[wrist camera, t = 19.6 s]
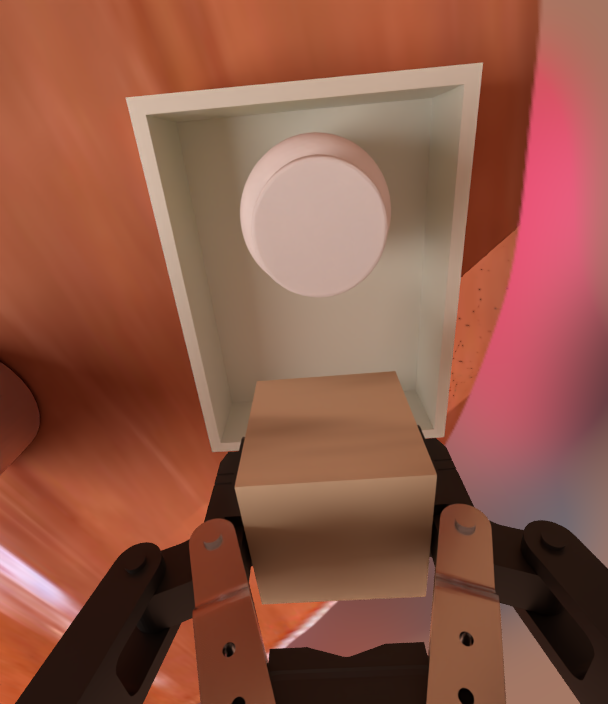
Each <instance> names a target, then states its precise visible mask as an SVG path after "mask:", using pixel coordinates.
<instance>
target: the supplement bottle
mask: <svg viewBox="0 0 608 704" xmlns="http://www.w3.org/2000/svg"><path fill="white" fill-rule="evenodd" d="M390 220H391V202H390V195H389V191H388V187H387V184H386V181H385V179H384V176H383V174H382V172H381V171H380V169H379V167H378V166H377V164H376V163H375V161H374V160H373V159H372V158H371V157H370V156H369V155H368V153H367V152H366V151H364V150H363V149H362V148H361V147H359V146H358V145H357V144H355V143H353V142H352V141H350V140H348V139H346V138H343V137H341V136H338V135H334V134H329V133H321V132H311V133H303V134H299V135H295V136H292V137H290V138H287V139H285V140H283V141H281V142H280V143H278V144H276V145H275V146H274V147H272V148H271V149H270V150H269V151H268V152H267V153H266V154H264V156H263V157H262V158H261V159H260V160H259V161H258V162H257V163H256V165H255V166H254V168H253V170H252V171H251V173H250V175H249V177H248V179H247V181H246V184H245V187H244V190H243V193H242V199H241V207H240V221H241V228H242V233H243V236H244V240H245V242H246V245H247V247H248V250H249V252H250V253H251V255H252V257H253V258H254V260H255V261H256V262H257V264H258V265H259V266H260V267H261V268H262V269H263V270H264V271H265V272H266V273H267V274H268V275H269V276H270V277H271V278H272V279H273V280H274V281H276V282H277V283H278V284H280V285H281V286H282V287H284V288H286V289H287V290H289V291H291V292H294V293H296V294H299V295H303V296H309V297H329V296H334V295H338V294H341V293H343V292H346V291H348V290H350V289H352V288H353V287H355V286H356V285H358V284H359V283H360V282H362V281H363V280H364V279H365V278H366V277H367V276H368V275H369V274H370V273H371V272H372V270H373V269H374V268H375V266H376V264H377V263H378V261H379V260H380V258H381V255H382V253H383V250H384V248H385V244H386V240H387V235H388V232H389V227H390Z"/></svg>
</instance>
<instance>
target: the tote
mask: <svg viewBox="0 0 608 704" xmlns="http://www.w3.org/2000/svg"><path fill="white" fill-rule="evenodd" d="M482 68H483V63H473V64H463V65H453V66H443V67H433V68H422V69H412V70H402V71H392V72H382V73H371V74H361V75H351V76H341V77H331V78H321V79H310V80H300V81H290V82H280V83H270V84H259V85H249V86H239V87H229V88H219V89H208V90H198V91H188V92H178V93H168V94H158V95H147V96H137V97H127V98H126V101H127V105H128V109H129V113H130V117H131V121H132V126H133V130H134V134H135V138H136V142H137V146H138V150H139V154H140V158H141V162H142V167H143V171H144V175H145V179H146V183H147V187H148V191H149V195H150V199H151V203H152V208H153V212H154V216H155V220H156V224H157V228H158V232H159V236H160V240H161V244H162V249H163V253H164V257H165V261H166V265H167V269H168V273H169V277H170V281H171V285H172V289H173V294H174V298H175V302H176V306H177V310H178V314H179V318H180V322H181V326H182V330H183V335H184V339H185V343H186V347H187V351H188V355H189V359H190V363H191V367H192V371H193V376H194V380H195V384H196V388H197V392H198V396H199V400H200V404H201V408H202V412H203V417H204V421H205V425H206V429H207V433H208V437H209V441H210V445H211V449H212V452H223V451H238V450H239V448H240V444H241V439H242V437H245V435H246V430H247V426H248V421H249V416H250V412H251V407H252V402H253V397H254V393H255V388H256V383H257V381H267V380H280V379H294V378H308V377H321V376H335V375H348V374H362V373H376V372H389V371H396V374H397V376H398V379H399V381H400V384H401V386H402V389H403V391H404V394H405V396H406V399H407V401H408V404H409V406H410V409H411V411H412V414H413V416H414V419H415V421H416V424H417V425H419V426H420V427H421V430H422V432H423V435H424V437H425V438H438V437H444V434H445V424H446V415H447V405H448V395H449V386H450V376H451V366H452V357H453V347H454V338H455V328H456V318H457V309H458V299H459V289H460V280H461V270H462V260H463V251H464V241H465V232H466V222H467V212H468V203H469V193H470V183H471V174H472V164H473V154H474V145H475V135H476V126H477V116H478V106H479V97H480V87H481V77H482ZM311 132H321V133H329V134H334V135H338V136H341V137H343V138H346V139H348V140H350V141H352V142H353V143H355V144H357V145H358V146H359V147H361V148H362V149H363V150H364V151H366V152H367V153H368V155H369V156H370V157H371V158H372V159H373V160H374V161H375V163H376V164H377V166H378V167H379V169H380V171H381V172H382V174H383V176H384V179H385V181H386V184H387V187H388V191H389V195H390V202H391V220H390V227H389V232H388V235H387V240H386V244H385V248H384V250H383V253H382V255H381V258H380V260H379V261H378V263H377V264H376V266H375V268H374V269H373V270H372V272H371V273H370V274H369V275H368V276H367V277H366V278H365V279H364V280H363V281H362V282H360V283H359V284H358V285H356V286H355V287H353V288H352V289H350V290H348V291H346V292H343V293H341V294H338V295H334V296H329V297H309V296H303V295H299V294H296V293H294V292H291V291H289V290H287V289H286V288H284V287H282V286H281V285H280V284H278V283H277V282H276V281H274V280H273V279H272V278H271V277H270V276H269V275H268V274H267V273H266V272H265V271H264V270H263V269H262V268H261V267H260V266H259V265H258V264H257V262H256V261H255V260H254V258H253V257H252V255H251V253H250V252H249V250H248V247H247V245H246V242H245V240H244V236H243V233H242V228H241V221H240V207H241V199H242V193H243V190H244V187H245V184H246V181H247V179H248V177H249V175H250V173H251V171H252V170H253V168H254V166H255V165H256V163H257V162H258V161H259V160H260V159H261V158H262V157H263V156H264V154H266V153H267V152H268V151H269V150H270V149H271V148H272V147H274V146H275V145H276V144H278V143H280V142H281V141H283V140H285V139H287V138H290V137H292V136H295V135H299V134H303V133H311Z"/></svg>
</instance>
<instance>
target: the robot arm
mask: <svg viewBox="0 0 608 704" xmlns="http://www.w3.org/2000/svg"><path fill="white" fill-rule="evenodd" d="M39 425H40V414H39V410H38V407H37V403H36V401H35V399H34V397H33V395H32V393H31V391H30V390H29V389H28V387H27V386H26V385H25V384H24V382H23V381H22V380H21V379H20V378H19V377H18V376H17V375H16V374H15V373H14V372H13V371H12V370H10V369H9V368H8V367H7V366H5V365H4V364H2V363H1V362H0V475H1V474H2V473H3V472H4V471H5V470H6V469H7V468H8V467H9V465H10V464H11V463H12V462H13V461H14V460H15V459H16V458H17V457H18V456H19V455H20V454H21V453H22V452H23V451H24V450H25V448H26V447H27V446H28V445H29V444H30V443H31V442H32V441H33V439H34V438H35V436H36V435H37V432H38V429H39ZM417 426H418V429H419V431H420V434H421V436H422V439H423V441H424V444H425V446H426V449H427V451H428V454H429V456H430V459H431V461H432V464H433V466H434V469H435V471H436V474H437V480H436V491H435V502H434V512H433V523H432V534H431V544H430V555H429V557H432V558H433V561H434V565H435V576H434V590H433V601H432V613H431V626H430V639H429V650H428V655H427V653H426V649H425V645H424V642H416V643H395V644H394V643H393V644H384V645H381V646H378V647H375V648H373V649H370V650H367V651H365V652H362V653H359V654H357V655H353V656H351V657H342V656H338V655H334V654H331V653H327V652H323V651H319V650H315V649H311V648H308V647H304V648H282V649H270V653H269V662H268V660H267V656H266V652H265V648H264V643H263V639H262V635H261V631H260V627H259V623H258V619H257V614H256V610H255V606H254V602H253V598H252V593H251V589H250V585H249V577H250V570H251V566H253V564H252V559H251V555H250V551H249V547H248V542H247V538H246V534H245V530H244V525H243V521H242V517H241V513H240V508H239V504H238V500H237V496H236V491H235V482H236V478H237V473H238V468H239V464H240V459H241V454H242V449H243V445H244V440H245V437H242V439H241V444H240V448H239V451H236V452H228V454H227V455H226V456H225V457H224V459H223V460H222V461H221V462H220V466H219V469H218V473H217V477H216V480H215V486H214V488H213V491H212V495H211V499H210V502H209V506H208V510H207V513H206V517H205V521H204V523H202V524H201V525H200V526H198V527H197V528H196V529H195V531H194V532H193V533H192V535H191V537H190V539H189V540H187V541H186V542H184V543H181V544H179V545H176V546H173V547H170V548H168V549H165V550H162V551H160V549H159V547H158V546H157V545H155V544H153V543H147V542H146V543H140V544H136V545H134V546H132V547H130V548H128V549H127V550H126V551H124V552H123V553H122V554H121V555H120V556H119V557H118V558H117V560H116V561H115V562H114V564H113V565H112V567H111V568H110V569H109V571H108V572H107V574H106V575H105V577H104V578H103V579H102V581H101V582H100V584H99V585H98V587H97V588H96V589H95V591H94V592H93V594H92V595H91V596H90V598H89V599H88V601H87V602H86V604H85V605H84V606H83V608H82V609H81V611H80V612H79V614H78V615H77V616H76V618H75V619H74V621H73V622H72V623H71V625H70V626H69V628H68V629H67V631H66V632H65V633H64V635H63V636H62V638H61V639H60V641H59V642H58V643H57V645H56V646H55V648H54V649H53V650H52V652H51V653H50V655H49V656H48V658H47V659H46V660H45V662H44V663H43V665H42V666H41V667H40V669H39V670H38V672H37V673H36V675H35V676H34V677H33V679H32V680H31V682H30V683H29V685H28V686H27V687H26V689H25V690H24V692H23V693H22V694H21V696H20V697H19V699H18V700H17V702H16V703H15V704H143V702H144V700H145V698H146V696H147V694H148V692H149V689H150V687H151V685H152V683H153V681H154V679H155V677H156V675H157V673H158V671H159V669H160V666H161V664H162V662H163V660H164V658H165V656H166V654H167V652H168V650H169V648H170V646H171V643H172V641H173V639H174V637H175V635H176V633H177V631H178V629H179V627H180V625H181V622H184V621H186V620H189V619H191V618H193V628H194V638H195V649H196V659H197V670H198V680H199V690H200V701H201V704H506V693H505V676H504V661H503V646H502V629H501V614H500V603H503V604H506V605H510V606H513V607H514V609H515V610H516V612H517V613H518V614H519V616H520V618H521V619H522V620H523V622H524V623H525V625H526V626H527V627H528V629H529V631H530V632H531V633H532V635H533V636H534V638H535V639H536V640H537V642H538V643H539V645H540V646H541V648H542V649H543V651H544V652H545V653H546V655H547V656H548V658H549V659H550V661H551V662H552V664H553V665H554V666H555V668H556V669H557V671H558V672H559V674H560V675H561V676H562V678H563V679H564V681H565V682H566V684H567V685H568V686H569V688H570V689H571V691H572V692H573V693H574V695H575V696H576V698H577V699H578V701H579V702H580V704H608V569H607V568H606V567H605V566H604V565H603V564H602V563H601V561H600V560H599V559H597V558H596V556H595V555H594V554H592V552H591V551H590V550H589V549H588V548H587V547H586V546H584V544H583V543H582V542H581V541H580V540H579V539H578V538H577V537H576V536H575V535H573V534H572V533H571V532H570V531H569V530H567V529H566V528H564V527H563V526H560V525H558V524H556V523H553V522H550V521H543V520H541V521H533V522H531V523H529V524H528V525H527V526H526V527H525V529H524V530H520V529H515V528H511V527H506V526H502V525H499V524H496V523H493V522H491V521H489V520H488V518H487V517H486V516H485V515H484V514H483V513H482V512H481V511H480V510H478V509H476V508H475V507H474V506H473V504H472V501H471V500H470V497H469V495H468V493H467V491H466V489H465V487H464V485H463V482H462V480H461V478H460V476H459V474H458V472H457V470H456V467H455V466H454V463H453V461H452V459H451V457H450V455H449V452H448V450H447V448H446V447H445V446H444V445H443V444H442V443H441V442H440V441H438V440H437V439H436V438H429V439H425V437H424V435H423V432H422V430H421V427H420V426H419V425H417Z"/></svg>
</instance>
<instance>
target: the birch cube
mask: <svg viewBox="0 0 608 704" xmlns="http://www.w3.org/2000/svg"><path fill="white" fill-rule="evenodd" d="M436 480H437V474H436V471H435V469H434V466H433V464H432V461H431V459H430V456H429V454H428V451H427V449H426V446H425V444H424V441H423V439H422V436H421V434H420V431H419V429H418V426H417V424H416V421H415V419H414V416H413V414H412V411H411V409H410V406H409V404H408V401H407V399H406V396H405V394H404V391H403V389H402V386H401V384H400V381H399V379H398V376H397V374H396V371H389V372H376V373H362V374H348V375H335V376H321V377H308V378H294V379H280V380H267V381H257V383H256V388H255V393H254V397H253V402H252V407H251V412H250V416H249V421H248V426H247V430H246V435H245V440H244V445H243V449H242V454H241V459H240V464H239V468H238V473H237V478H236V482H235V491H236V496H237V500H238V504H239V508H240V513H241V517H242V521H243V525H244V530H245V534H246V538H247V542H248V547H249V551H250V555H251V559H252V564H253V568H254V572H255V576H256V580H257V585H258V589H259V593H260V597H261V602H262V604H278V603H299V602H320V601H341V600H362V599H382V598H383V599H384V598H404V597H425V596H426V587H427V576H428V565H429V555H430V544H431V534H432V523H433V512H434V502H435V491H436Z"/></svg>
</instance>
